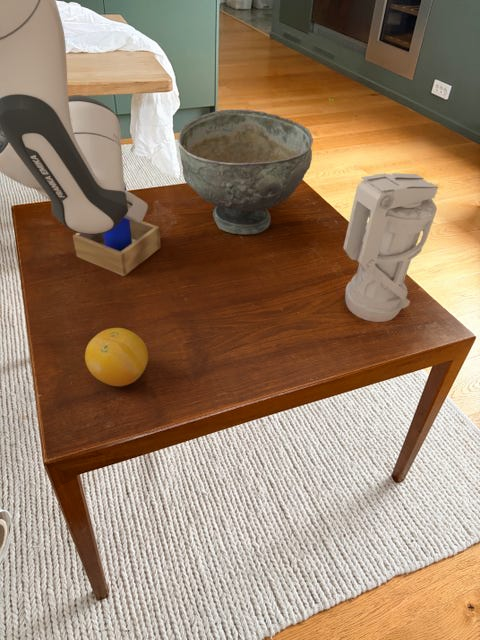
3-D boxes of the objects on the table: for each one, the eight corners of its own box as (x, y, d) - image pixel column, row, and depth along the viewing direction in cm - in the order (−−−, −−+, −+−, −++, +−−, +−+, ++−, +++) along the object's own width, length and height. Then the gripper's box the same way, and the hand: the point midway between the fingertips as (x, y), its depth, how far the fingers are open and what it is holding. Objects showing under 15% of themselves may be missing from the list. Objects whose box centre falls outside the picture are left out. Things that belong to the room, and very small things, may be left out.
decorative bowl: (296, 192, 120) (305, 107, 106) (311, 254, 101) (323, 161, 88) (187, 192, 119) (182, 107, 106) (181, 254, 101) (173, 161, 87)
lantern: (376, 281, 95) (412, 156, 79) (413, 314, 89) (461, 184, 72) (320, 298, 91) (347, 169, 74) (355, 334, 84) (393, 200, 67)
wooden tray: (124, 276, 93) (121, 254, 89) (76, 256, 96) (72, 235, 93) (160, 247, 100) (159, 226, 97) (115, 230, 104) (112, 210, 101)
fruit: (80, 389, 72) (70, 350, 67) (103, 351, 78) (96, 312, 73) (137, 401, 71) (132, 363, 65) (157, 362, 77) (154, 324, 71)
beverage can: (138, 249, 99) (131, 179, 89) (120, 261, 96) (110, 189, 86) (118, 240, 101) (109, 171, 91) (100, 252, 97) (89, 181, 87)
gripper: (128, 177, 76) (168, 208, 89) (31, 145, 83) (81, 178, 96) (112, 215, 76) (155, 241, 89) (16, 180, 83) (68, 208, 96)
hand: (116, 208), depth 93 cm, fingers closed on beverage can, 5 cm apart
